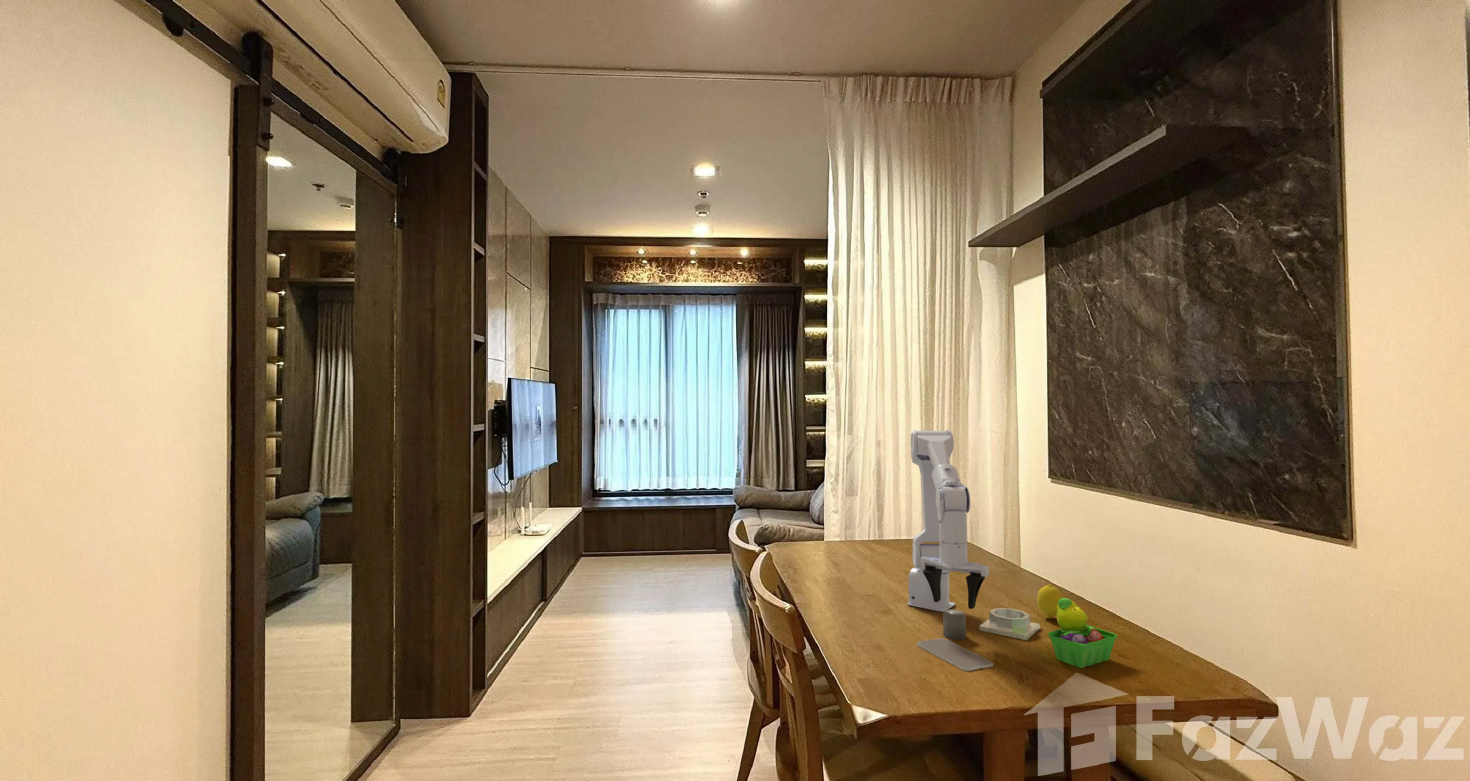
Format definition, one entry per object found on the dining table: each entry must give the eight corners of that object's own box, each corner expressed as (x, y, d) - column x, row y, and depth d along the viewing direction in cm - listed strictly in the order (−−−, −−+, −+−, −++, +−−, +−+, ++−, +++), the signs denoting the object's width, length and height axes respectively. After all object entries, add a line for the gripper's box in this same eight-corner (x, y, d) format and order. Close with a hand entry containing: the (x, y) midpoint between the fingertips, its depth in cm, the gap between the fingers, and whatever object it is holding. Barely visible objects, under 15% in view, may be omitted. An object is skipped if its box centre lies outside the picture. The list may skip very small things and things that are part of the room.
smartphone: (965, 669, 121) (914, 642, 135) (965, 674, 121) (914, 646, 135) (995, 663, 124) (943, 637, 138) (995, 668, 124) (943, 641, 137)
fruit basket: (1082, 672, 121) (1081, 611, 121) (1041, 656, 128) (1040, 599, 129) (1119, 661, 126) (1118, 603, 126) (1077, 646, 134) (1076, 591, 134)
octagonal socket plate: (979, 630, 144) (979, 614, 144) (994, 619, 151) (994, 604, 151) (1027, 640, 137) (1026, 623, 137) (1039, 628, 145) (1039, 612, 145)
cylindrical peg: (940, 636, 140) (939, 612, 140) (948, 630, 143) (947, 607, 144) (961, 641, 137) (960, 616, 137) (968, 635, 140) (968, 611, 141)
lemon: (1057, 614, 154) (1057, 581, 155) (1067, 622, 149) (1066, 587, 149) (1033, 614, 155) (1033, 580, 155) (1042, 621, 149) (1041, 587, 150)
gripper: (914, 540, 142) (914, 602, 142) (980, 548, 133) (981, 615, 133) (927, 535, 148) (927, 595, 147) (991, 543, 139) (992, 607, 138)
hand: (954, 604), depth 140 cm, fingers open, 7 cm apart
